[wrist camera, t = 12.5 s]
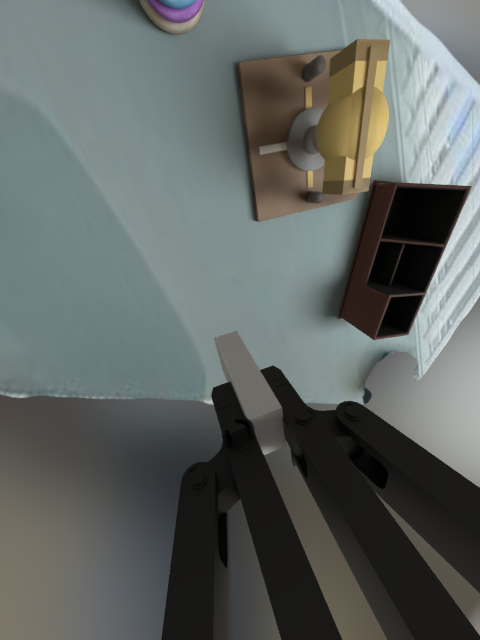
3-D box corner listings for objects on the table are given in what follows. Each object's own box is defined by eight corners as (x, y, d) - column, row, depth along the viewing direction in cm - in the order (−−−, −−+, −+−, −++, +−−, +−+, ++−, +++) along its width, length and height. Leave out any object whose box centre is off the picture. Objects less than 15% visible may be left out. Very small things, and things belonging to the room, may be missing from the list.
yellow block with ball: (354, 189, 37) (379, 189, 33) (313, 195, 36) (334, 196, 32) (369, 58, 30) (403, 38, 26) (319, 58, 29) (347, 37, 25)
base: (237, 65, 33) (259, 32, 26) (363, 50, 37) (412, 18, 30) (256, 221, 43) (276, 227, 36) (354, 197, 47) (389, 199, 40)
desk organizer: (336, 318, 60) (371, 342, 51) (372, 180, 47) (429, 177, 37) (370, 314, 63) (409, 336, 54) (413, 184, 50) (475, 183, 40)
